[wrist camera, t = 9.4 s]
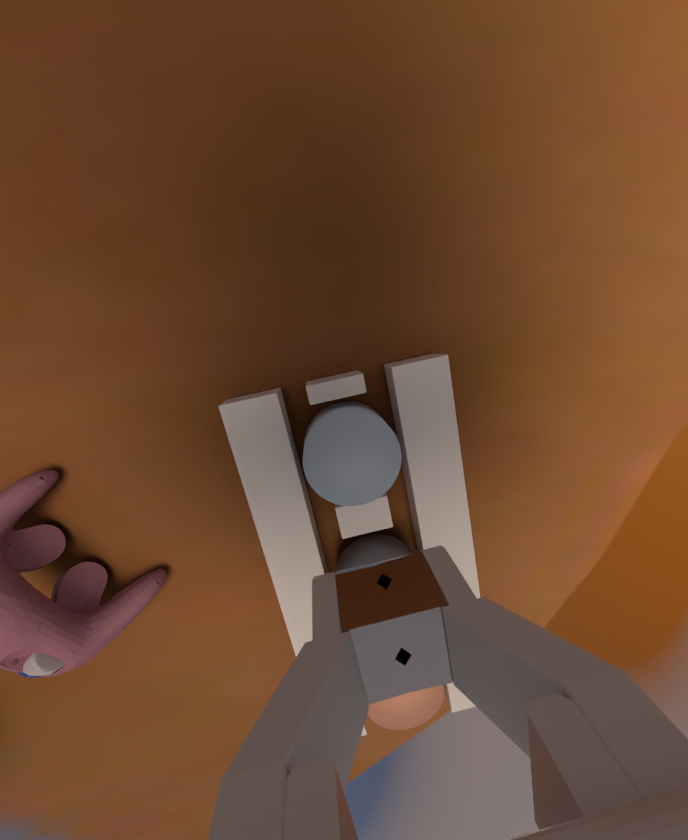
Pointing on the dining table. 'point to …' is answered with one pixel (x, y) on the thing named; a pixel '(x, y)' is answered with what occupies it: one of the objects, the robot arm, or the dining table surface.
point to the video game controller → (55, 594)
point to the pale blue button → (350, 454)
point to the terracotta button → (407, 708)
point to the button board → (295, 524)
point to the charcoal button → (371, 551)
